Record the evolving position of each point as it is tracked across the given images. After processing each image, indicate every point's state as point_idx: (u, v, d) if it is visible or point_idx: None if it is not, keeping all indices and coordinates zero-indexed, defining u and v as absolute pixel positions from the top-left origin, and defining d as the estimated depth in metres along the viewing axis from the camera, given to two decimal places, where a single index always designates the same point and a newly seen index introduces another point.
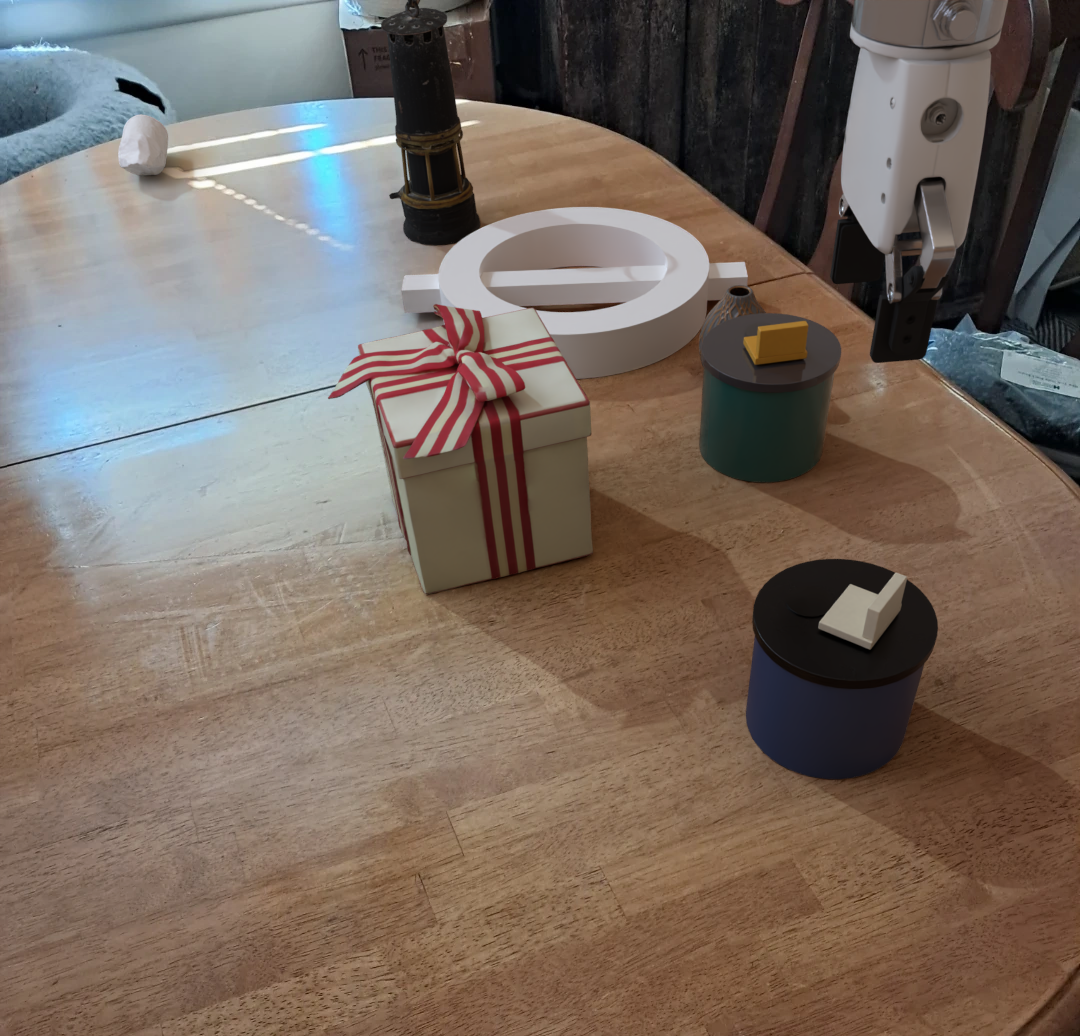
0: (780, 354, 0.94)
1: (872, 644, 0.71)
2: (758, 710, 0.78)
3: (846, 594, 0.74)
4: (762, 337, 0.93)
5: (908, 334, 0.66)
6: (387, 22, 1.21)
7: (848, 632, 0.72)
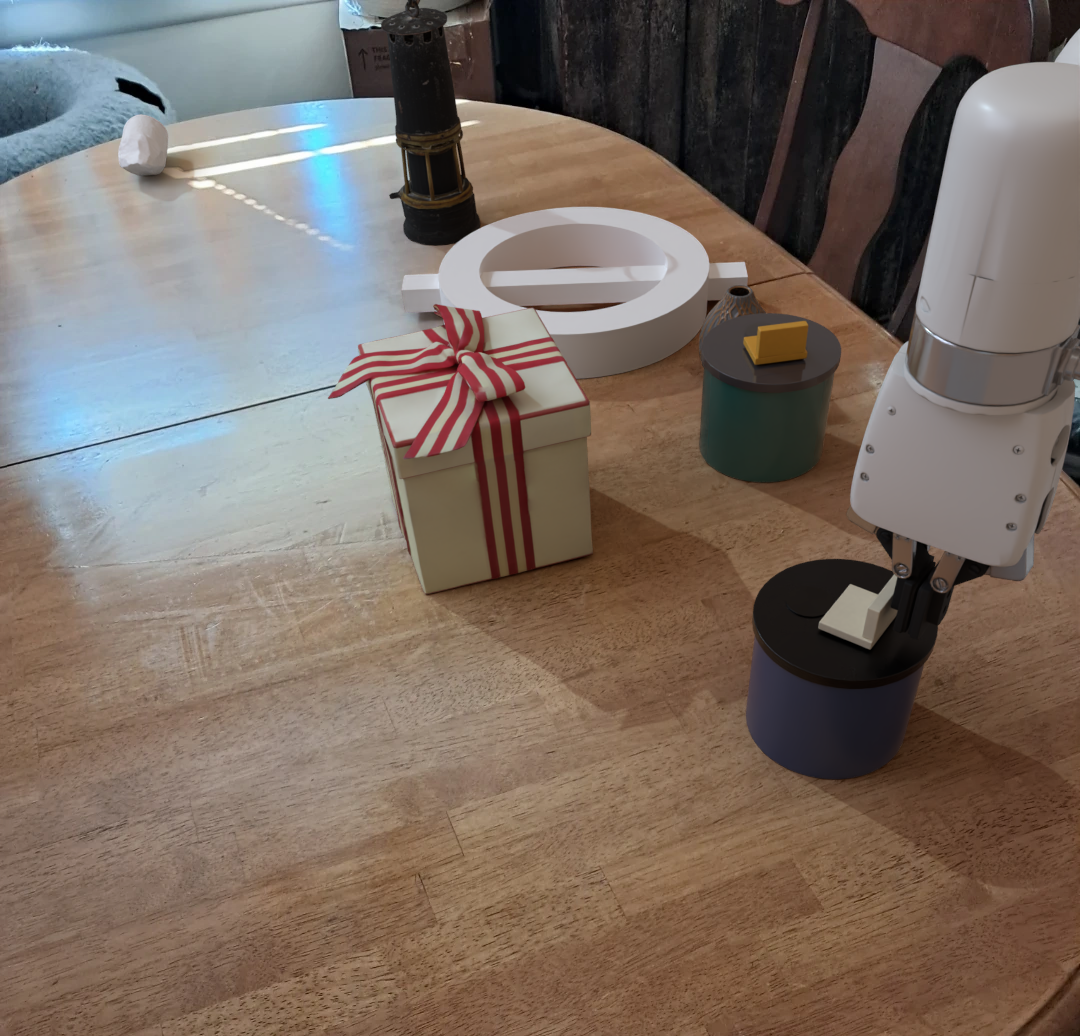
0: (780, 354, 0.94)
1: (872, 644, 0.71)
2: (758, 710, 0.78)
3: (846, 594, 0.74)
4: (762, 337, 0.93)
5: (944, 605, 0.69)
6: (387, 22, 1.21)
7: (848, 632, 0.72)
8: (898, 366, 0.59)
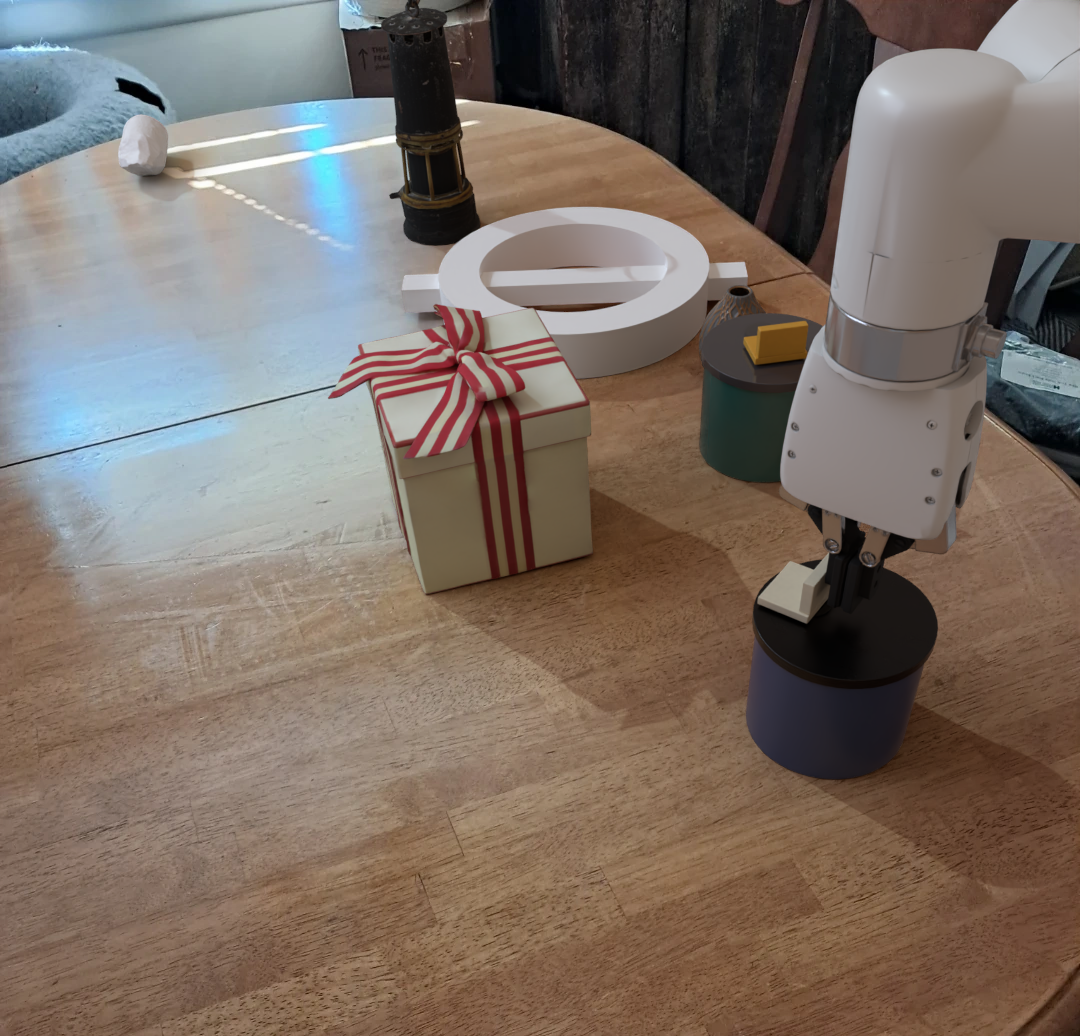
0: (780, 354, 0.94)
1: (808, 618, 0.73)
2: (758, 710, 0.78)
3: (786, 571, 0.76)
4: (762, 337, 0.93)
5: (875, 579, 0.71)
6: (387, 22, 1.21)
7: (786, 607, 0.74)
8: (818, 345, 0.61)
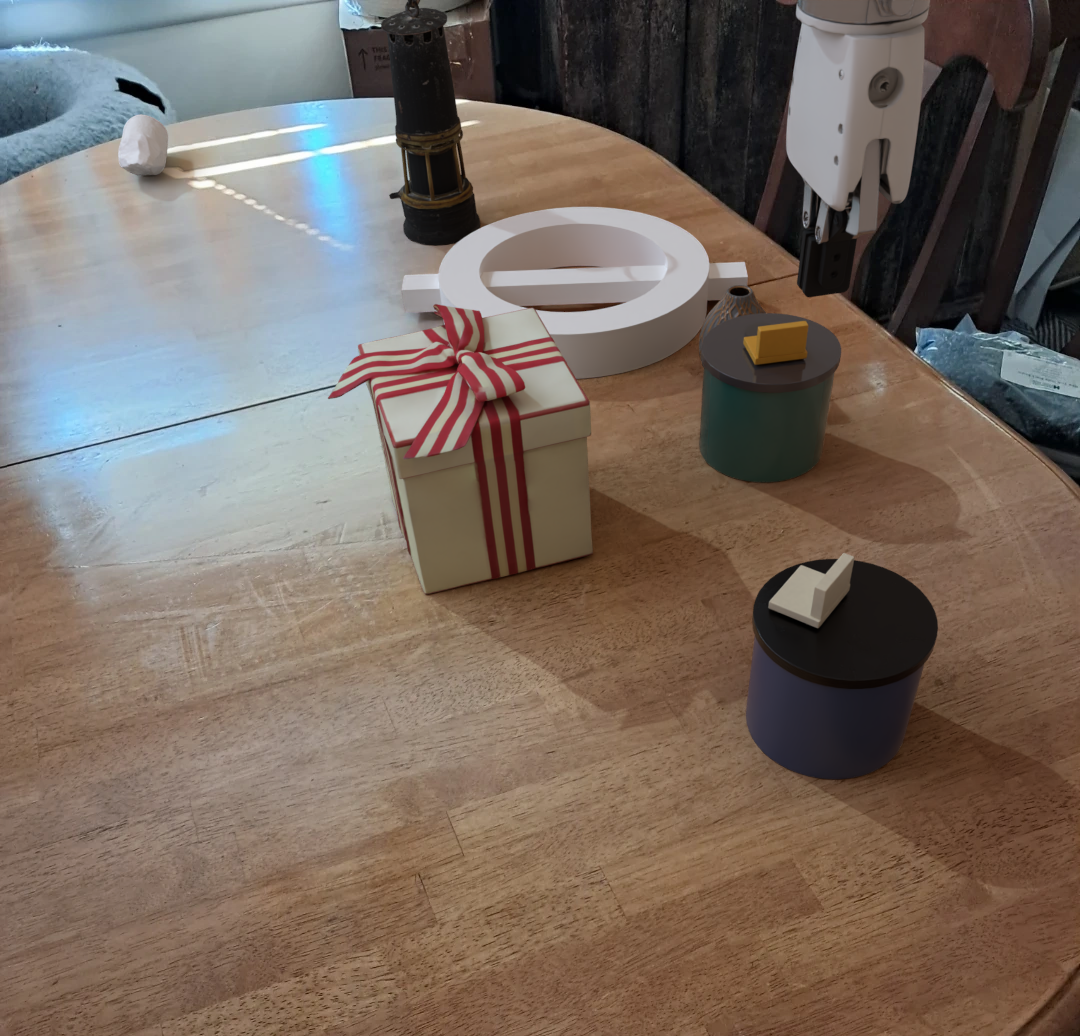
0: (780, 354, 0.94)
1: (820, 623, 0.73)
2: (758, 710, 0.78)
3: (796, 575, 0.76)
4: (762, 337, 0.93)
5: (835, 270, 0.77)
6: (387, 22, 1.21)
7: (797, 611, 0.73)
8: None
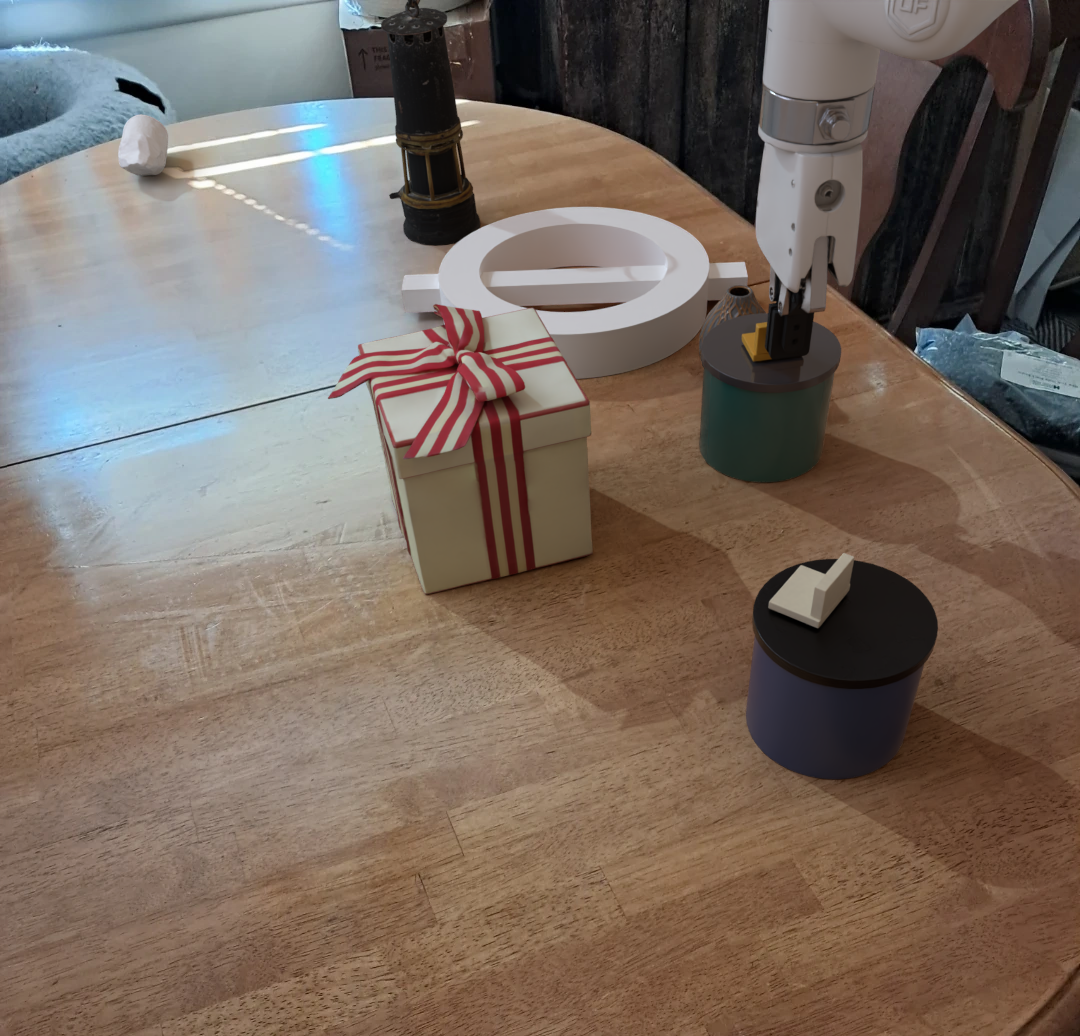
0: None
1: (820, 623, 0.73)
2: (758, 710, 0.78)
3: (796, 575, 0.76)
4: (760, 334, 0.93)
5: (795, 337, 0.90)
6: (387, 22, 1.21)
7: (797, 611, 0.73)
8: None
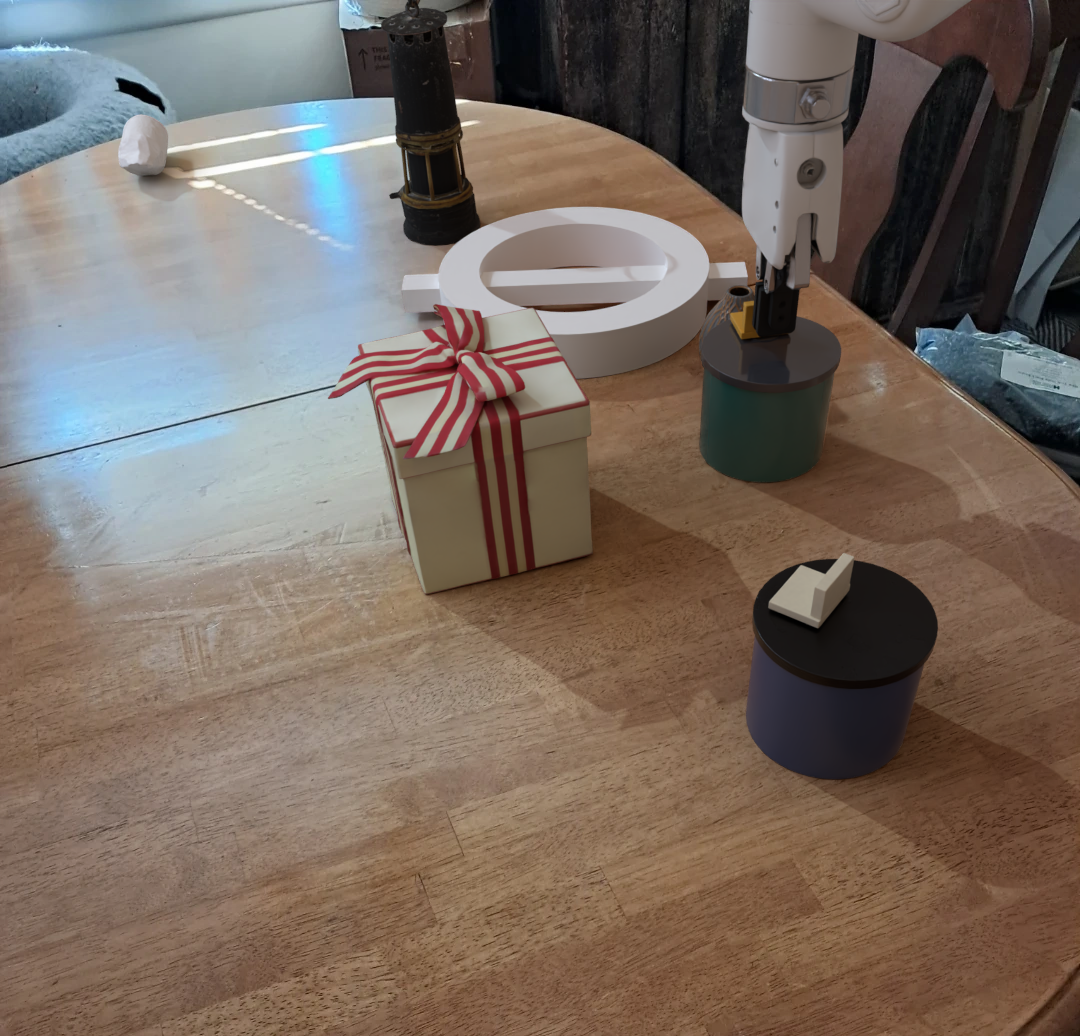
0: None
1: (820, 623, 0.73)
2: (758, 710, 0.78)
3: (796, 575, 0.76)
4: (747, 312, 0.96)
5: (781, 315, 0.93)
6: (387, 22, 1.21)
7: (797, 611, 0.73)
8: None
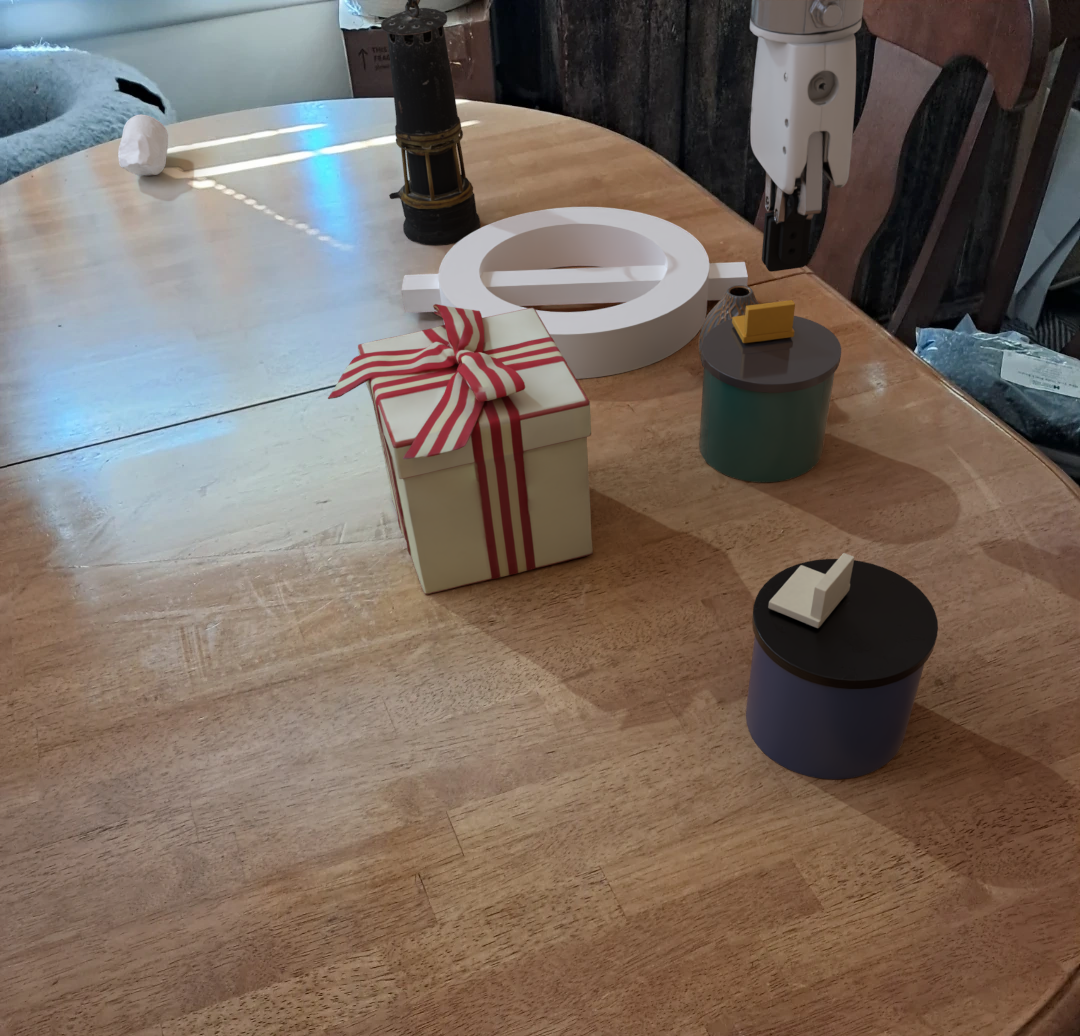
0: (768, 333, 0.97)
1: (820, 623, 0.73)
2: (758, 710, 0.78)
3: (796, 575, 0.76)
4: (749, 316, 0.95)
5: (792, 247, 0.89)
6: (387, 22, 1.21)
7: (797, 611, 0.73)
8: None
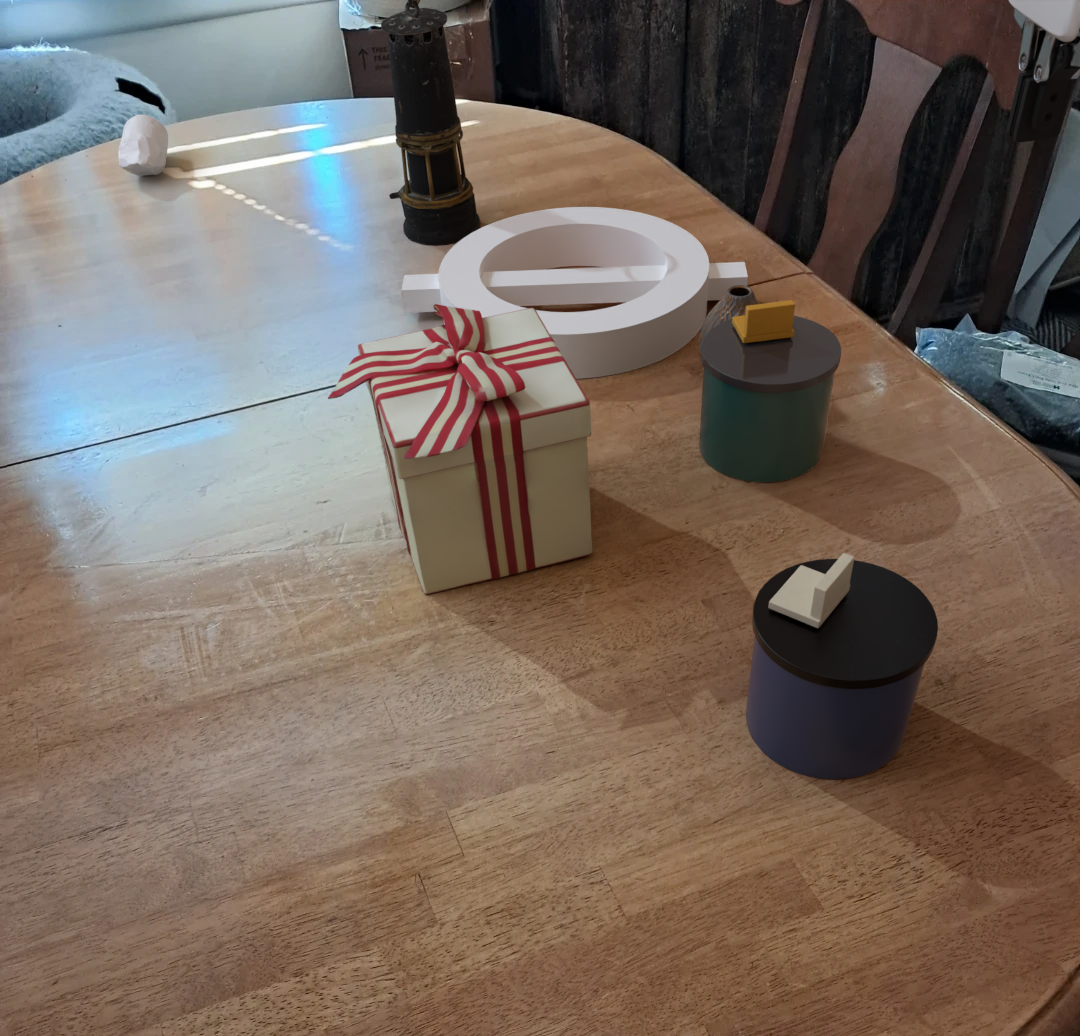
0: (768, 333, 0.97)
1: (820, 623, 0.73)
2: (758, 710, 0.78)
3: (796, 575, 0.76)
4: (749, 316, 0.95)
5: (1049, 112, 0.79)
6: (387, 22, 1.21)
7: (797, 611, 0.73)
8: None
